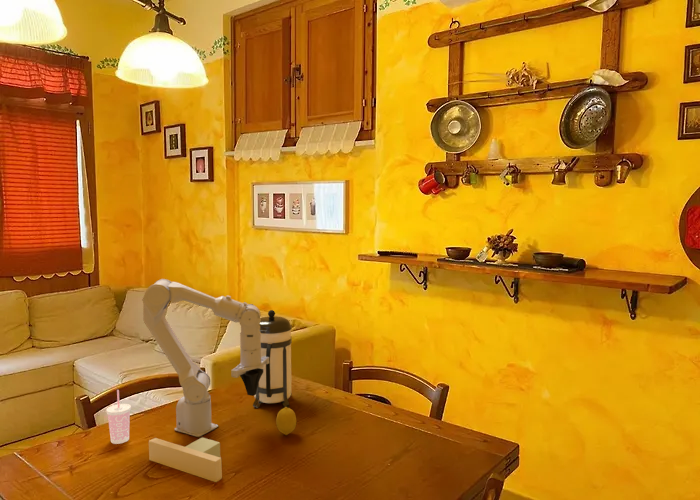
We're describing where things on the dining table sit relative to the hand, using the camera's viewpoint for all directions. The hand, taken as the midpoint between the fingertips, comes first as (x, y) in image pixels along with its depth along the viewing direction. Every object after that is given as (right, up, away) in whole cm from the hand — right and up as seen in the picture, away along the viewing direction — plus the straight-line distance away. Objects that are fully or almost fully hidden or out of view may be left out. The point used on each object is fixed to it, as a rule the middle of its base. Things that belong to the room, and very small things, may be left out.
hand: (251, 394), depth 152 cm
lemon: (+11, -10, -5) cm, 15 cm away
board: (-12, -12, -23) cm, 29 cm away
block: (-9, -12, -20) cm, 25 cm away
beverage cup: (-34, -10, -8) cm, 37 cm away
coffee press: (+4, -8, +18) cm, 20 cm away
